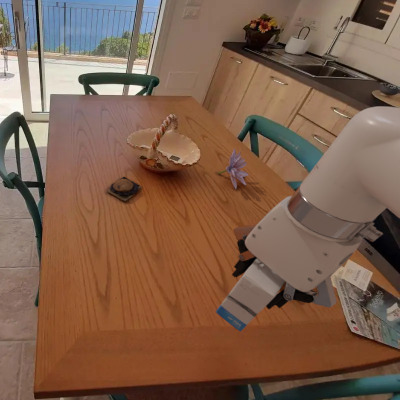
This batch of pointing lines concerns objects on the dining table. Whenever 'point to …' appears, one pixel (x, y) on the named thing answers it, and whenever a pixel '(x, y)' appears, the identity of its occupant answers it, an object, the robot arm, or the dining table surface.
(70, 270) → the dining table surface
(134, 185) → the square push button
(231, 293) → the ink box
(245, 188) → the dining table surface
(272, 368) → the dining table surface
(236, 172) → the water lily
